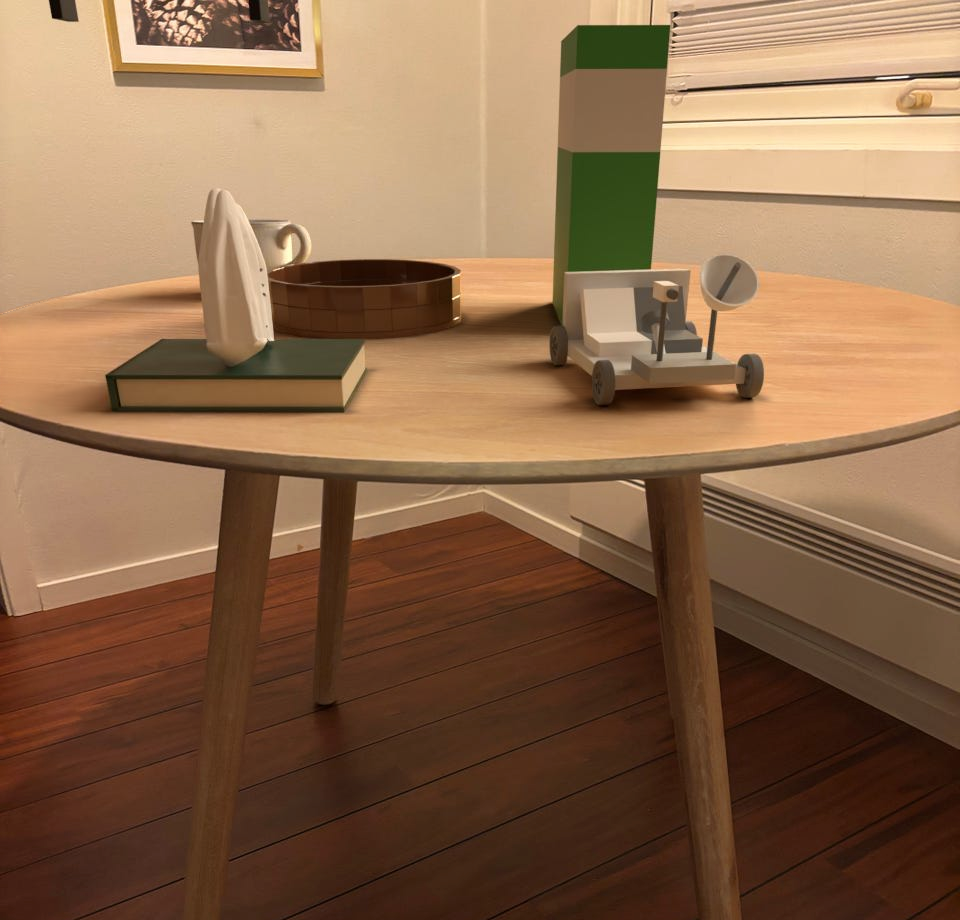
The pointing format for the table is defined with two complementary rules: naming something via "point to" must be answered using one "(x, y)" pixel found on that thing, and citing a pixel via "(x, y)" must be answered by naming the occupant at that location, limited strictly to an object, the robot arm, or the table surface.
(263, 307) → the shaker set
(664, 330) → the toy car
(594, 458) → the table surface
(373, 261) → the bowl
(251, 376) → the green book
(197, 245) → the teacup
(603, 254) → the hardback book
